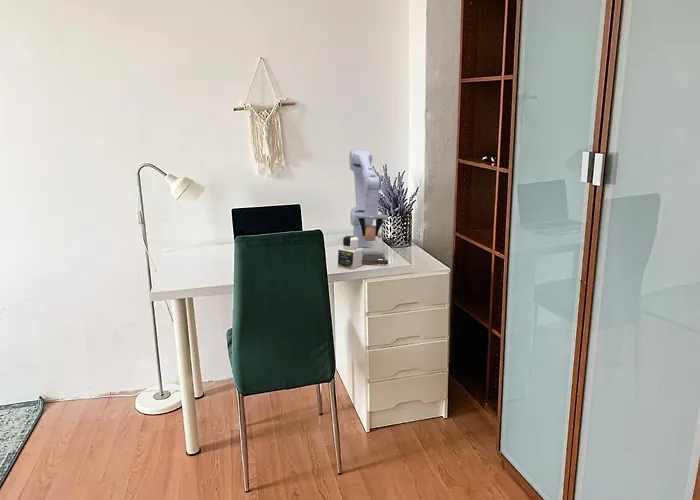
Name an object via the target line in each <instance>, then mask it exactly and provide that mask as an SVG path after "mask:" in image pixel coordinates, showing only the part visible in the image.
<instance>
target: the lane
mask: <svg viewBox="0 0 700 500" xmlns="http://www.w3.org/2000/svg"><path fill="white" fill-rule="evenodd" d="M380 254H382V259H383V260H366V259H363V258H362V265H361V266H378V265H377V264H388V265H389V260H388V259H387V257H386V255H385V254H384V253H383V252H381V253H380Z"/></svg>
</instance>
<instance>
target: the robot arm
mask: <svg viewBox="0 0 700 500" xmlns="http://www.w3.org/2000/svg"><path fill="white" fill-rule="evenodd" d="M348 156H349V157H348V159H349V161H348V162H349V163H348V164H349V169H350V170H351V171H353V177H354V190H355V191H354V192H355V206H354V207H352V208H351V210H350V216H349V217H350V218H349V220H350V225H351V226H352V227H353V233H352V234H353V235H352V236H355V237H357V238H358V248H371V245H370V242H369V241H366V240H364V236H365V225H374V220H375V226H376V237H378V235H379V231H380V229H381V227H382V225H383V223H384V221H388V217H389V215H388V214H378V213H379V197H380V191H381V189H382V179H381V176H379V175H378V176H377V173H376V170H375V168H374V167H372V161H373V152H372V151H371V150H353V149H352V150H350V152H349V155H348Z"/></svg>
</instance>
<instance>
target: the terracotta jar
mask: <svg viewBox="0 0 700 500" xmlns="http://www.w3.org/2000/svg"><path fill="white" fill-rule="evenodd" d="M376 237H377V236H376V225H374V224H372V225H365V236H364V240H366V241H368V242H374V241H376Z"/></svg>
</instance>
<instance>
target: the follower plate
mask: <svg viewBox="0 0 700 500" xmlns="http://www.w3.org/2000/svg"><path fill="white" fill-rule="evenodd" d="M362 258H363V259H366V260H378V259H382V254H381V253H372V252H371V253H366V252H365V253H363V252H362Z"/></svg>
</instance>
